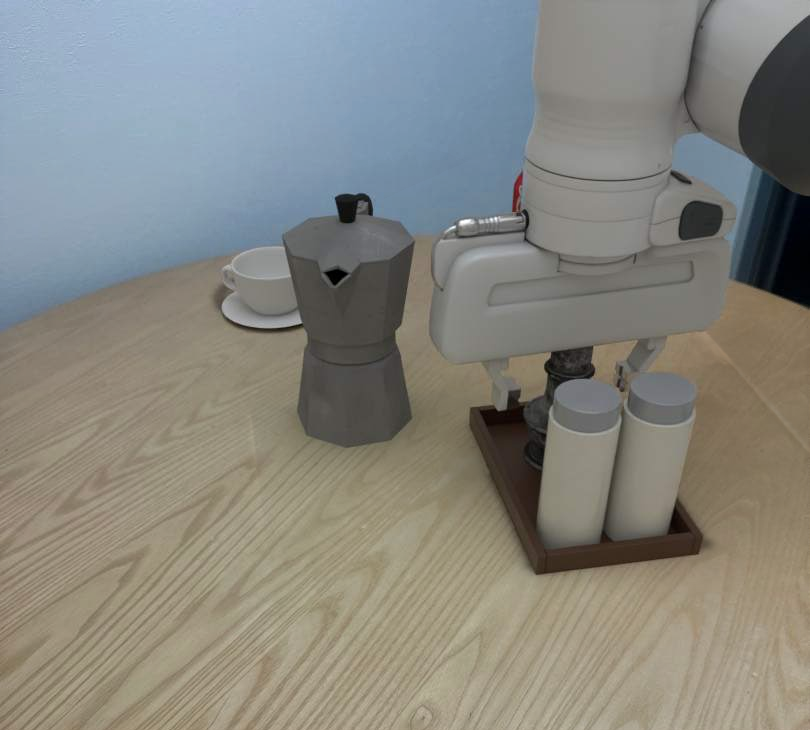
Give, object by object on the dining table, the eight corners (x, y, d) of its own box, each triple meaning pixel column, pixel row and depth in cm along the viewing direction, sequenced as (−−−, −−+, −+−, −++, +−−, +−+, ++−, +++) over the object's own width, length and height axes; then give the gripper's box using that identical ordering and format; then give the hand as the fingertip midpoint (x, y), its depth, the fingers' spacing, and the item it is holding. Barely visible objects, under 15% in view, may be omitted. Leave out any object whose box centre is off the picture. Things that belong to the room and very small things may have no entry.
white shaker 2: (653, 505, 66) (682, 366, 59) (678, 544, 63) (713, 402, 56) (593, 512, 66) (616, 372, 58) (615, 552, 62) (642, 410, 55)
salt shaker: (552, 424, 74) (569, 280, 66) (613, 455, 71) (639, 307, 63) (503, 454, 71) (515, 306, 63) (565, 487, 68) (586, 336, 60)
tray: (603, 414, 76) (606, 393, 75) (697, 559, 62) (704, 536, 61) (468, 428, 75) (469, 406, 73) (535, 580, 61) (538, 556, 60)
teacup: (338, 291, 94) (336, 246, 91) (308, 338, 86) (305, 290, 83) (243, 281, 95) (238, 236, 92) (205, 326, 88) (199, 278, 85)
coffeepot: (405, 471, 70) (406, 235, 59) (280, 463, 71) (257, 228, 59) (422, 368, 82) (425, 155, 70) (315, 363, 83) (301, 150, 71)
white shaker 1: (587, 513, 65) (610, 373, 58) (610, 553, 62) (636, 410, 55) (526, 520, 65) (542, 380, 58) (545, 561, 62) (564, 418, 54)
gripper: (448, 241, 54) (441, 441, 63) (761, 206, 59) (714, 399, 67) (417, 202, 59) (415, 394, 68) (710, 173, 63) (672, 357, 72)
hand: (566, 396), depth 68 cm, fingers open, 8 cm apart
